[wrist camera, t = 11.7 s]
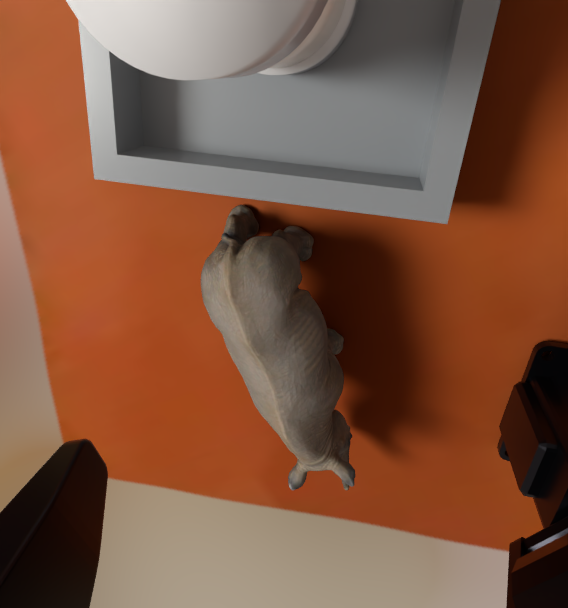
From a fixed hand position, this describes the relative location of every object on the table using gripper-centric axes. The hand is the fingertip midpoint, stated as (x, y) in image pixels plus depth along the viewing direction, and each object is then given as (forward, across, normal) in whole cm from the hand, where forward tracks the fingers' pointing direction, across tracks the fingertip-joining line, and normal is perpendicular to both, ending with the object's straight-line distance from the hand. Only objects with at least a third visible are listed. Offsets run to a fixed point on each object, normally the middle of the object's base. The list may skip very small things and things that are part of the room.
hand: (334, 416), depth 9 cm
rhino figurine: (+12, +1, +8) cm, 15 cm away
